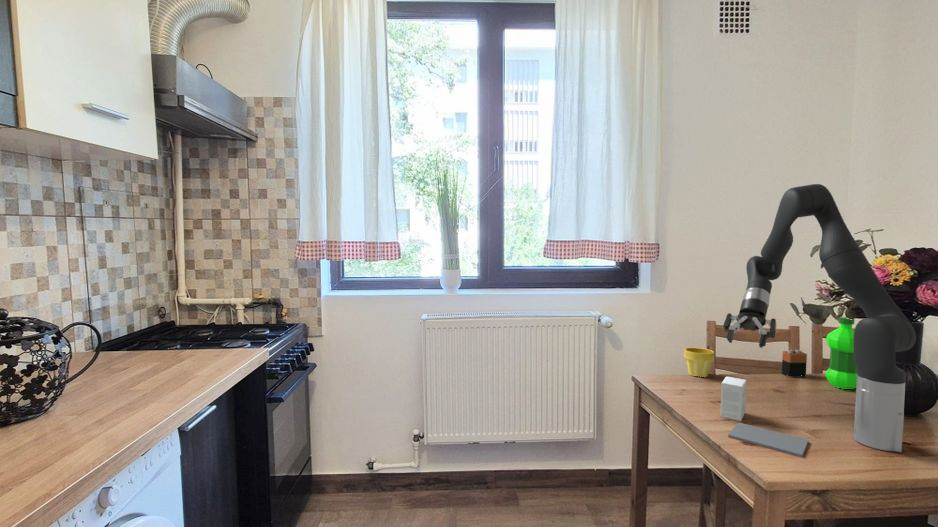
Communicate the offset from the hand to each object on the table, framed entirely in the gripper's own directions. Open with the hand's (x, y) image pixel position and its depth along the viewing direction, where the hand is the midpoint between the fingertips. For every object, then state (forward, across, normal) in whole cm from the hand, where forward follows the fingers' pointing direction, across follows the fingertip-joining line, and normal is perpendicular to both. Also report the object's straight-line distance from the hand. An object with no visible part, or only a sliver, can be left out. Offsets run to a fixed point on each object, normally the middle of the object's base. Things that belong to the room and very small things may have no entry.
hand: (745, 343), depth 142 cm
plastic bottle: (-16, +22, +44) cm, 52 cm away
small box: (+23, 0, +5) cm, 23 cm away
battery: (-19, +7, +48) cm, 52 cm away
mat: (+31, +11, -4) cm, 33 cm away
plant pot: (-2, -20, +30) cm, 36 cm away
